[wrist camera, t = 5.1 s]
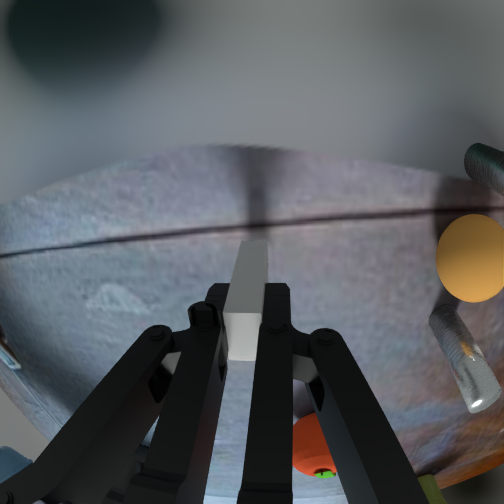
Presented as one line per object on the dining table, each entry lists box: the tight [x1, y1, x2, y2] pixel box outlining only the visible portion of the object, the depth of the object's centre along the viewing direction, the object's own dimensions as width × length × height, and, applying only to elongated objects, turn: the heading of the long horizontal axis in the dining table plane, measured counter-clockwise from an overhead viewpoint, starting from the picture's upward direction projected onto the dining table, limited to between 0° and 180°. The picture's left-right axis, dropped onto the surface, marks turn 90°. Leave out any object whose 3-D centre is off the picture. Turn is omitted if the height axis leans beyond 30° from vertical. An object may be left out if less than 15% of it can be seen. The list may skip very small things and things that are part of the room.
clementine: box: [293, 413, 337, 478], centre depth 25 cm, size 8×7×7 cm
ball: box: [436, 214, 504, 302], centre depth 16 cm, size 6×6×6 cm
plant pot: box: [417, 474, 447, 504], centre depth 36 cm, size 9×9×9 cm
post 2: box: [429, 305, 502, 413], centre depth 17 cm, size 3×3×9 cm
